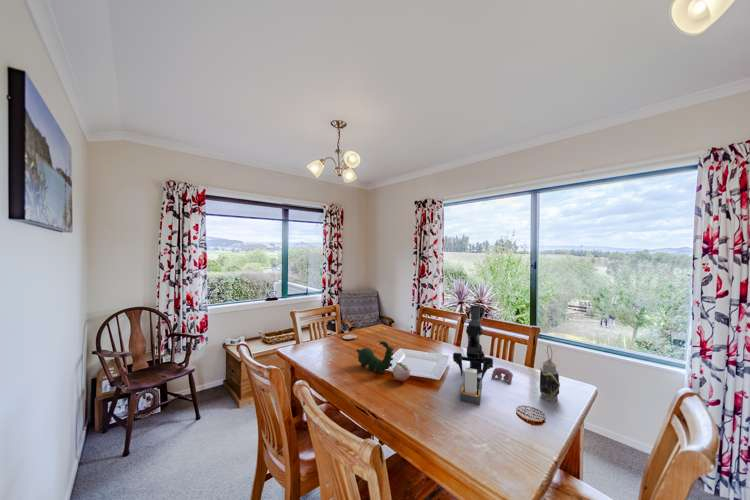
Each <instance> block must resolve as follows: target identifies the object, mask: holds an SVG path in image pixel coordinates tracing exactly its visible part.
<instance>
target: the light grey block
mask: <svg viewBox="0 0 750 500" xmlns="http://www.w3.org/2000/svg"><path fill="white" fill-rule="evenodd" d="M464 377H465V393H469V394H474V395H477V377H478V373H477V369H471V368H470V367H465V370H464Z"/></svg>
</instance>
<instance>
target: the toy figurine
mask: <svg viewBox="0 0 750 500" xmlns="http://www.w3.org/2000/svg"><path fill="white" fill-rule="evenodd" d="M379 345H380V346H381V345H382V346H383V347H384V348H385V353H384V356H383V359H381V358H380V359H379V358H378V357H377V356H376V355H375V354H374V351H373V350H372V349H371V348H369V347H364V348H361V349H357V348H356V349H355V351H356V353H357V359H358V360H357V361H358V363H360V366H361V367H362V368H366V367H367V369H368V371H372V369H374V373H376V374H377V373H378V372H381V373H382V374H383V373H385V371H387V370H386V369H388V370H389V369H390V367H393V363H391V361H393V360H394V358H393V355H394V352H393V351H394V348H392V347H391V346H389V343H388V342H386V341H385V340H383V341H380V342H379Z"/></svg>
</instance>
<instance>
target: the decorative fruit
mask: <svg viewBox="0 0 750 500" xmlns="http://www.w3.org/2000/svg"><path fill="white" fill-rule="evenodd" d="M392 374H393V376H394V378H395V379H396V380H398V381H400V382H403V381H406V380H408V379H409V377H410V375H411V369H410V367H409V366H408V365H406V364H403V363H402V361H401V362H398V361H397V362H395V365H394V367H393V368H392Z"/></svg>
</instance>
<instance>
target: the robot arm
mask: <svg viewBox="0 0 750 500" xmlns="http://www.w3.org/2000/svg"><path fill="white" fill-rule="evenodd" d="M485 311H486V310H485V307H483V306H481V305H474V304H473V305H471V306H469V313H470V316H471V320H470V321H469V322H468V325H466V329H465V331H466V332H465V333H466V335H467V336H466V337H467V346H466V352H465V354H466V356H464V355H463V354H462V353H461V352H454V353H452V359H453V362H454V363H455V364H456V365H458V366H459V367H458V368H459V371H460V375H461V376H463V372H464V371H463V361H465V362H469V368H471V369H477V374H479V373H481V375H480V376H481V377H480V378H481V379H482V380H483V378H484V376H485V375H486V373H487V371H488V370H490V369H492V368H493V367H494V359H493V357H489V356H485V355H486V354H485V353H484V351H483V347H482V345H481V342H480V339H481V336H482V335H483V334H484V329H483V327H482V323H481V321H482V320H483V319H484V315H485V313H486V312H485ZM462 355H463V356H462ZM482 364H483V365H482Z"/></svg>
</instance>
